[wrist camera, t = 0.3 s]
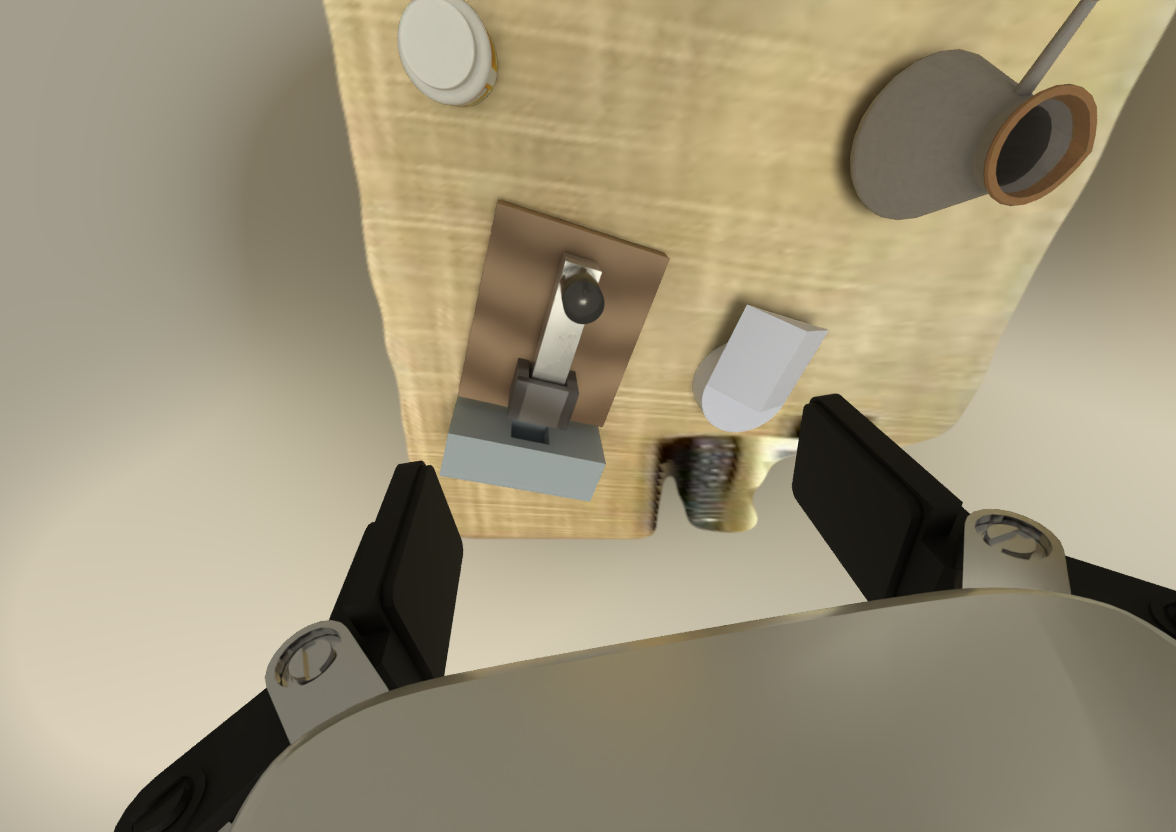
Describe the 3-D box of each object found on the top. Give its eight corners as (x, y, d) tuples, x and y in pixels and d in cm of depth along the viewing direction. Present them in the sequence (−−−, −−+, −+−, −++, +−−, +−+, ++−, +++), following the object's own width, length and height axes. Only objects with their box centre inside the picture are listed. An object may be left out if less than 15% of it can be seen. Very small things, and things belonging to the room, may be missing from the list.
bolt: (563, 251, 39) (569, 278, 32) (597, 262, 40) (610, 290, 33) (528, 375, 45) (527, 419, 38) (558, 383, 45) (562, 427, 39)
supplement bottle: (432, -6, 31) (397, -49, 23) (509, 39, 33) (501, 14, 25) (411, 83, 34) (373, 72, 26) (484, 121, 35) (470, 122, 27)
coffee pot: (934, 215, 43) (1101, 256, 30) (815, 212, 42) (939, 253, 29) (1072, -125, 31) (1433, -287, 19) (915, -144, 30) (1190, -331, 18)
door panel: (498, 199, 38) (493, 212, 33) (664, 253, 42) (684, 273, 37) (460, 385, 47) (450, 421, 42) (600, 416, 51) (608, 452, 45)
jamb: (458, 394, 48) (448, 433, 42) (597, 424, 51) (605, 463, 45) (450, 433, 50) (439, 475, 44) (583, 459, 54) (589, 501, 48)
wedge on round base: (733, 292, 45) (678, 405, 51) (762, 318, 39) (697, 440, 46) (811, 317, 47) (749, 422, 53) (849, 344, 41) (775, 458, 48)
